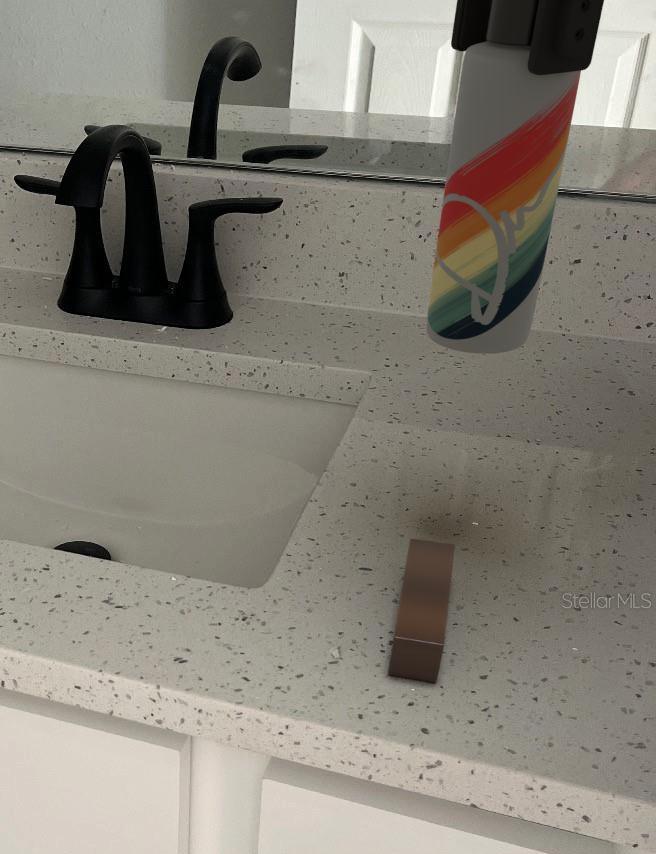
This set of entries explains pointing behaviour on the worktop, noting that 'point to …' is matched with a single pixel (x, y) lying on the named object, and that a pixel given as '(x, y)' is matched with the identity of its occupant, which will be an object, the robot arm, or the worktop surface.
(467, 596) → the worktop surface
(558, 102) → the lotion bottle
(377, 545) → the worktop surface
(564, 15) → the robot arm
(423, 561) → the walnut stick
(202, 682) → the worktop surface
